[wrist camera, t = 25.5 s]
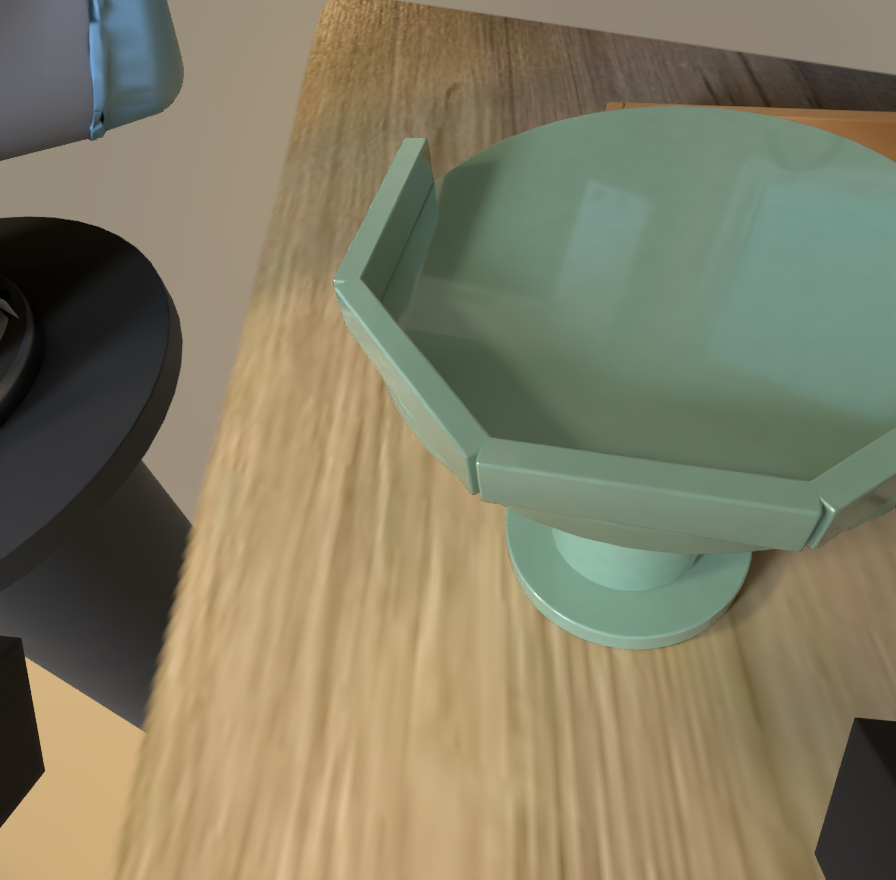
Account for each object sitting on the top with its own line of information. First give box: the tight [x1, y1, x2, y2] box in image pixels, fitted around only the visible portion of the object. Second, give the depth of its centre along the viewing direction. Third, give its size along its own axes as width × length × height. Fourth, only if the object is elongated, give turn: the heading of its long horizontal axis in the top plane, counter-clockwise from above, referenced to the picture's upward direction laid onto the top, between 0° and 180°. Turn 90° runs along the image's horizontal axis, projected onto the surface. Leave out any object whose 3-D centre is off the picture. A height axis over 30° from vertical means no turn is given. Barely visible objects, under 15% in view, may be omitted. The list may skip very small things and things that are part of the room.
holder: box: [605, 102, 896, 162], centre depth 30 cm, size 20×13×4 cm, turn 74°
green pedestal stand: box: [333, 106, 896, 650], centre depth 20 cm, size 13×13×13 cm
